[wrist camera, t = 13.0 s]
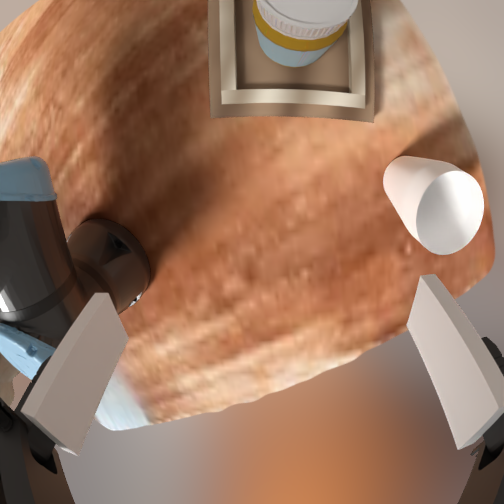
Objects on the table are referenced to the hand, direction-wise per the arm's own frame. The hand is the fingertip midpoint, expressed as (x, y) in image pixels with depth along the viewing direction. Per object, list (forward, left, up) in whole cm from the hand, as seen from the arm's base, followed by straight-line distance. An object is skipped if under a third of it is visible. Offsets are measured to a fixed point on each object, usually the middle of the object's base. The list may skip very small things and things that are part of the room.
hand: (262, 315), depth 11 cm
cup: (+18, 0, -26) cm, 31 cm away
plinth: (+3, +16, -26) cm, 30 cm away
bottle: (+3, +16, -23) cm, 28 cm away
